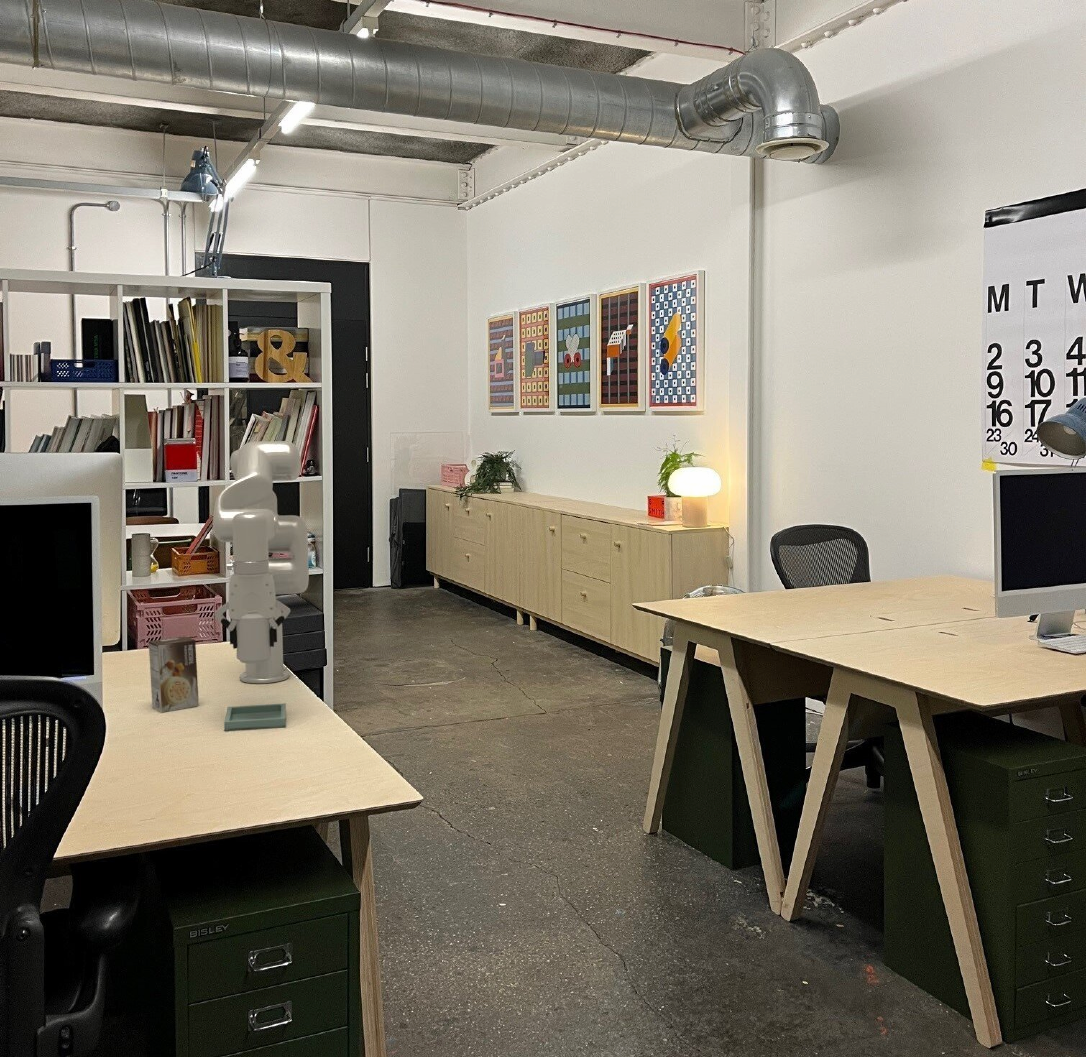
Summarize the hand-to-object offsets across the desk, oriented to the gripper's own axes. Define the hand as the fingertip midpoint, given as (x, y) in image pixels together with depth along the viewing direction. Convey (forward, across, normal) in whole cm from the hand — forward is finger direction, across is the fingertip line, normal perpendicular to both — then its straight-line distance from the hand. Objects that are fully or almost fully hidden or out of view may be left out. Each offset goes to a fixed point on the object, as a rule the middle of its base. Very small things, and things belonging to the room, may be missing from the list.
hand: (253, 646), depth 246 cm
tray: (+17, 0, 0) cm, 17 cm away
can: (+4, 0, 0) cm, 4 cm away
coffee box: (+17, -19, +17) cm, 31 cm away
